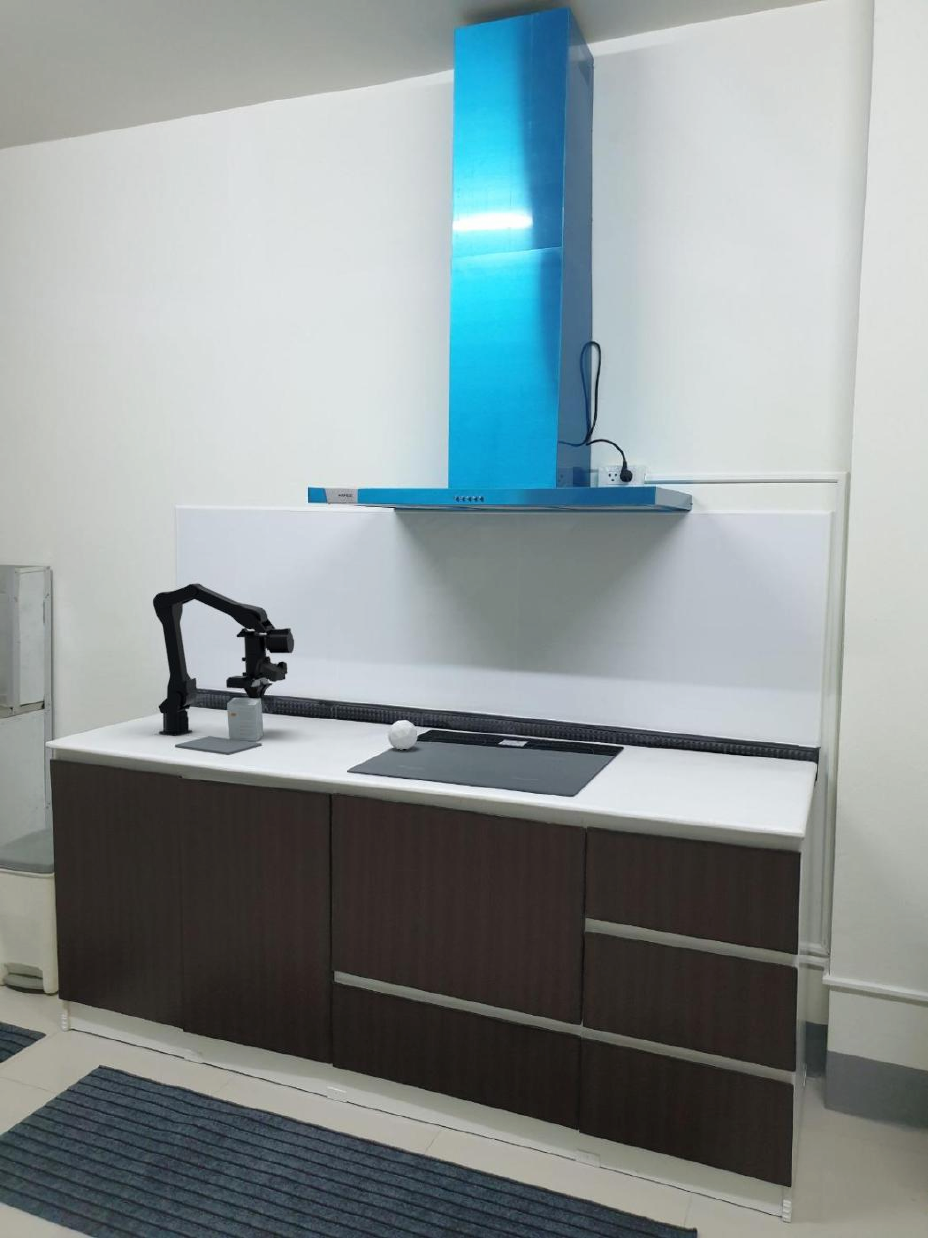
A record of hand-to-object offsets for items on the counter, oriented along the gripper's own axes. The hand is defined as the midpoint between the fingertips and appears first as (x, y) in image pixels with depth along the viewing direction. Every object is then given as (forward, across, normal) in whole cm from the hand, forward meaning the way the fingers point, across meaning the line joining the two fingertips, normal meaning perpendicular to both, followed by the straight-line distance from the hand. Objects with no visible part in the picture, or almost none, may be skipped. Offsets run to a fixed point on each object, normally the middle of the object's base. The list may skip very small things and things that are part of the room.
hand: (257, 709), depth 264 cm
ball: (+9, +6, -42) cm, 44 cm away
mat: (+7, -15, +1) cm, 17 cm away
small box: (+7, -4, +1) cm, 8 cm away
